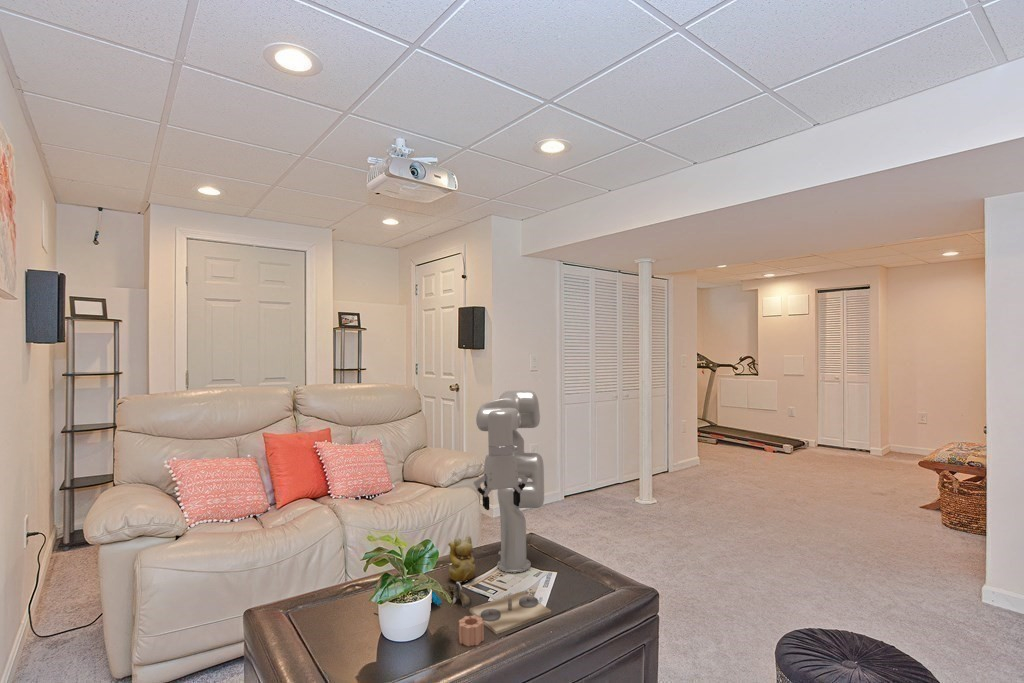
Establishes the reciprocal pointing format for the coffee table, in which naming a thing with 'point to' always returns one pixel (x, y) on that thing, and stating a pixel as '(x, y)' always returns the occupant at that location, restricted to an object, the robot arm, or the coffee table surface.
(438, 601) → the gear
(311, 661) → the coffee table surface
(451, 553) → the decorative figurine
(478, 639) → the gear wheel
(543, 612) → the board
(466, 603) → the eagle figurine
